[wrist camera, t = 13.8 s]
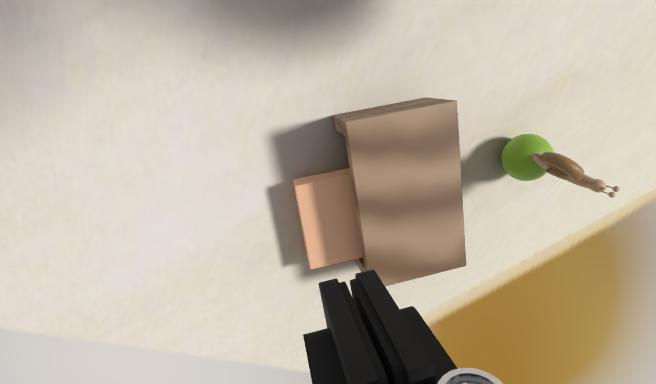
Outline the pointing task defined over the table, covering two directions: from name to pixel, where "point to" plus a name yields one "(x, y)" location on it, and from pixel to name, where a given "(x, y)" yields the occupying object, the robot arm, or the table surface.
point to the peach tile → (328, 218)
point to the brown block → (406, 187)
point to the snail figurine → (544, 163)
